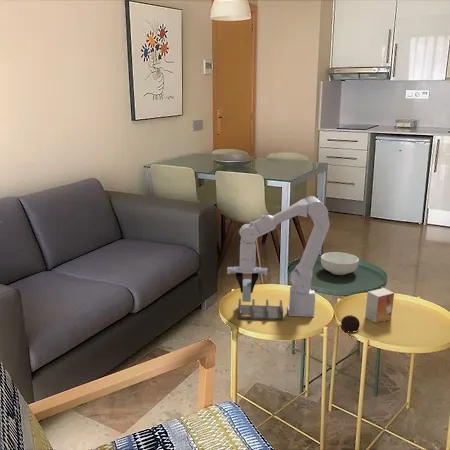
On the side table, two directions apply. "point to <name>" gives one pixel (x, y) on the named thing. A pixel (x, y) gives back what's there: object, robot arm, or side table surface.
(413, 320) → the side table surface
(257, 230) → the robot arm
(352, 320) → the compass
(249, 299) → the light grey rectangular block
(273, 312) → the rack
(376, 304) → the small box
